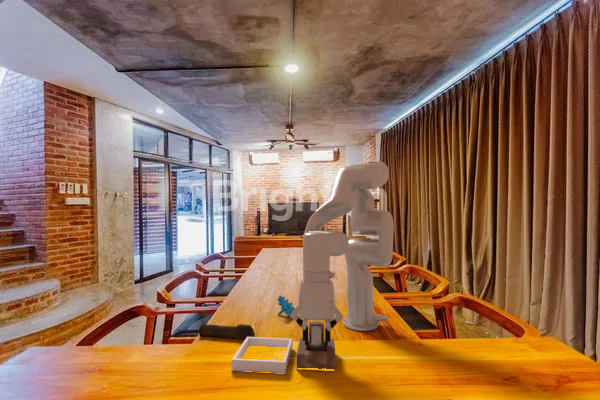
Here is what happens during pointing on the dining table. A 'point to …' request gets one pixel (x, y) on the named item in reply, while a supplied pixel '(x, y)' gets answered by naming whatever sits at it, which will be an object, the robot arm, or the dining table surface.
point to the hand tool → (227, 331)
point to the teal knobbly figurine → (285, 306)
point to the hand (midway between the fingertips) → (316, 342)
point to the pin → (316, 336)
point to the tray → (262, 365)
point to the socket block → (316, 356)
